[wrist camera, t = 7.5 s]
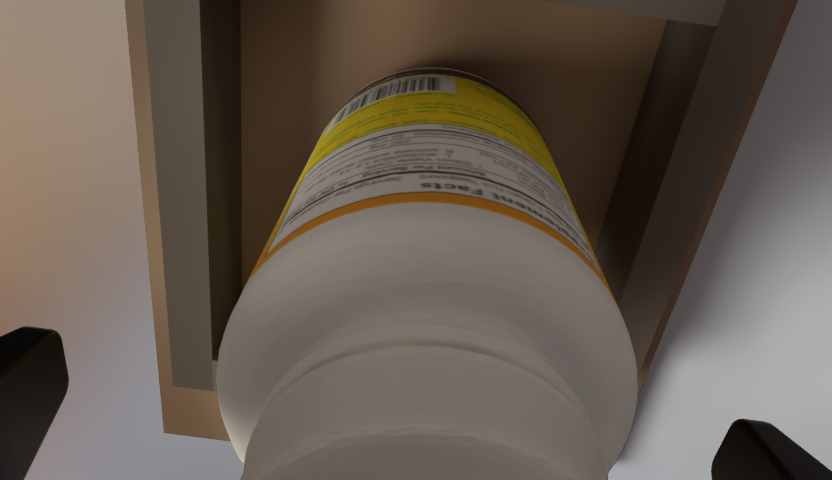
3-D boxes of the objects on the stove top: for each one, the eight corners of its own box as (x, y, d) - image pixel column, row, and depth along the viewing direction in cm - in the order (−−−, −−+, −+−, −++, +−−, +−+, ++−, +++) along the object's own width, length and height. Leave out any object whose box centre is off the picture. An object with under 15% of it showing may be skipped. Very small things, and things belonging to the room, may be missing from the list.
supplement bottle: (462, 308, 17) (484, 770, 8) (278, 205, 16) (58, 618, 7) (598, 144, 15) (847, 537, 6) (394, 7, 13) (297, 234, 4)
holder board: (890, -304, 11) (1054, -377, 8) (593, 463, 21) (618, 560, 18) (112, -429, 11) (-18, -553, 8) (176, 409, 21) (128, 499, 18)
